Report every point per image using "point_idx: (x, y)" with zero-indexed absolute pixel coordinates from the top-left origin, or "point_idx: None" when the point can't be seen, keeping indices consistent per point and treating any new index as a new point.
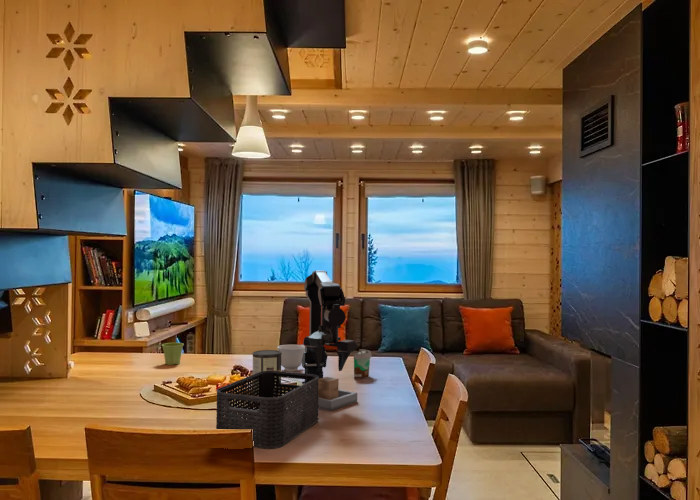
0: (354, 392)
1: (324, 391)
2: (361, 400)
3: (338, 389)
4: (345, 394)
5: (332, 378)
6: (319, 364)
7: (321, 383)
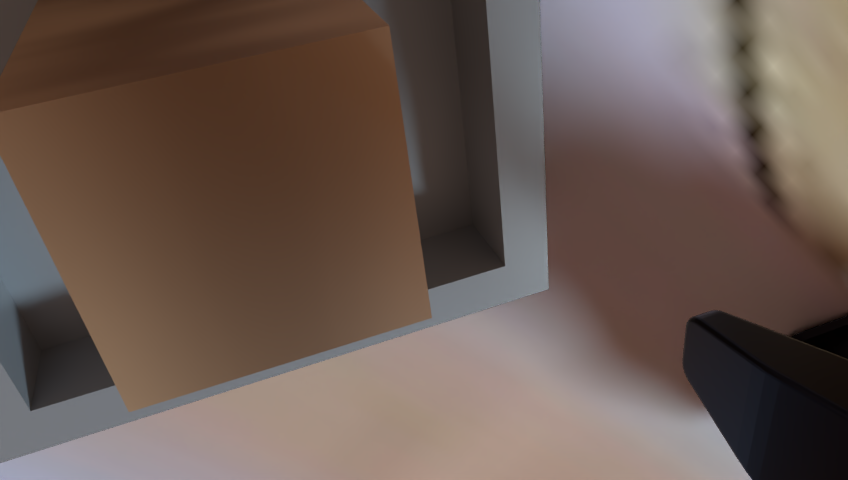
0: (40, 442)
1: (145, 9)
2: None
3: (322, 354)
4: None
5: (226, 330)
6: (722, 395)
7: (241, 32)
